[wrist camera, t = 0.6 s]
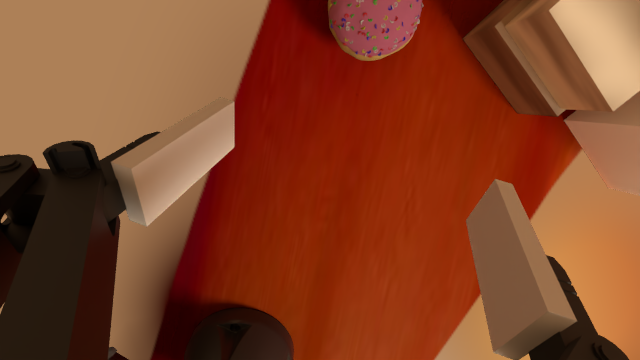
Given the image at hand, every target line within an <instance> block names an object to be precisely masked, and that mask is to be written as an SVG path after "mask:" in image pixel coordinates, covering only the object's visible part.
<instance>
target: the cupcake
mask: <svg viewBox="0 0 640 360" xmlns="http://www.w3.org/2000/svg"><path fill="white" fill-rule="evenodd" d="M422 7H423V4H422V0H328V15H329V27H330V30H331V32H332V34H333V36H334V37H335V39H336V41H337V42H338V44H339V46H340V47H341V49H342V50H343V51H345V52H346V53H348V54H350V55H352V56H353V57H355V58H357V59H359V60H365V61H372V60H377V59H381V58H384V57H386V56H388V55H390V54H392V53H395V52H397V51H399V50H400V49H402V48H403V47H404V46H405V45H406V44H407V43H408V42H409V41H410V40H411V38H412V36H413V34H414V32H415V30H416V29H417V24H418V23H419V22H420V20H419V17H420V14H421V9H422ZM418 21H419V22H418Z"/></svg>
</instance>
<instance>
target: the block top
mask: <svg viewBox="0 0 640 360" xmlns="http://www.w3.org/2000/svg"><path fill="white" fill-rule="evenodd" d="M505 28H506V30H507V31H508V33H509V34H510V35H511V37H512V38H513V40H514V41H515V43H516V44H517V46H518V47H519V49H520V50H521V51H522V53H523V54H524V56H525V57H526V59H527V60H528V62H529V63H530V65H531V66H532V67H533V69H534V70H535V72H536V73H537V75H538V76H539V78H540V79H541V81H542V82H543V84H544V85H545V86H546V88H547V89H548V91H549V92H550V94H551V95H552V97H553V98H554V100H555V101H556V102H557V104H558V105H559V107H560V108H561V109H569V110H589V111H609V112H613V111H615V110H616V109H617V108H618V107H620V106H621V105H622V104H624V103H625V102H626V101H627V100H629V99H630V98H631V97H632V96H634V95H635V94H636V93H637V92H639V91H640V0H533V1H532V2H531V3H530V4H528V5H527V6H526V7H525V8H524V9H523V10H522V11H521V12H520V13H519V14H518V15H516V16H515V17H514V18H513V19H512V20H511V21H510V22H509V23H508V24H507V25H506V26H505Z"/></svg>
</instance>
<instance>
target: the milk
mask: <svg viewBox="0 0 640 360" xmlns="http://www.w3.org/2000/svg"><path fill="white" fill-rule="evenodd" d="M564 121H565V123H566V124H567V126H568V127H569V129H570V130H571V132H572V133H573V135H574V137H575V138H576V140H577V141H578V143H579V144H580V146H581V147H582V149H583V150H584V152H585V153H586V155H587V156H588V158H589V159H590V161H591V163H592V164H593V166H594V167H595V169H596V170H597V172H598V173H599V175H600V176H601V178H602V179H603V181H604V182H605V184H606V186H607V187H608V188H612V189H615V190H619V191H623V192H627V193H631V194H636V195H639V196H640V91H639V92H637V93H636V94H635V95H634V96H632V97H631V98H630V99H629V100H627V101H626V102H625V103H624V104H622V105H621V106H620V107H618V108H617V109H616V110H615V111H613V112H609V111H589V110H576V111H575V112H574V113H572V114H571V115H570V116H568V117H567V118H566V119H565V120H564Z"/></svg>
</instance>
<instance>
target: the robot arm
mask: <svg viewBox="0 0 640 360" xmlns="http://www.w3.org/2000/svg"><path fill="white" fill-rule="evenodd" d="M233 148H234V101H231V100H228V99H225V98H221V97H220V98H219V99H217V100H215V101H213V102H212V103H210V104H209V105H207V106H205V107H203V108H202V109H200V110H198V111H197V112H195V113H193V114H191V115H190V116H188V117H186V118H185V119H183V120H181V121H180V122H178V123H176V124H174V125H173V126H171V127H169V128H168V129H166V130H164V131H163V132H154V133H151V134H147V135H144V136H143V137H141V138H139V139H137V140H135V142H132V143H130V144H128V145H127V146H126V147H123V148H121V149H119V150H118V151H116V152H114V153H112V154H111V155H109V156H107V157H105V158H104V159H102V160H100V161H99V159H98V156H97V153H96V151H95V148H94V146H93V145H92V144H91V143H89V142H84V141H66V142H61V143H58V144H54V145H52V146H51V147H49V148H47V149H46V150H45V151H44V152H43V155H44V157H45V159H46V161H47V163H48V165H49V167H50V169H41V168H37V167H36V165H35V163H34V161H33V159H32V158H31V157H29V156H27V155H20V154H17V155H4V156H0V308H1V307H2V305H3V304H4V302H5V304H4V306H3V309H2V311H1V314H0V360H128V359H127V358H125V357H123V356H122V355H120V354H118V353H117V352H116V351H117V350H116V349H115V348H114V347H109V340H110V328H111V317H112V307H113V295H114V284H115V273H116V272H115V271H116V262H117V251H118V240H119V229H120V219H119V216H118V215H119V214H121V213H122V212H123V211H124V210H126V211H127V214H128V217H129V220H131V221H133V222H136V223H139V224H142V225H144V226H148V225H149V224H150V223H151V222H152V221H154V220H155V219H156V218H157V217H158V216H159V215H160V214H161V213H162V212H164V211H165V210H166V209H167V208H168V207H169V206H170V205H171V204H172V203H173V202H174V201H176V200H177V199H178V198H179V197H180V196H181V195H182V194H183V193H184V192H185V191H187V190H188V189H189V188H190V187H191V186H192V185H193V184H194V183H195V182H197V181H198V180H199V179H200V178H201V177H202V176H203V175H204V174H205V173H206V172H208V171H209V170H210V169H211V168H212V167H213V166H214V165H215V164H216V163H217V162H219V161H220V160H221V159H222V158H223V157H224V156H225V155H226V154H227V153H228V152H230V151H231V150H232V149H233ZM4 214H6V215H7V219H6V220H5V221H4V222H3V223H1V219H2V217H3V215H4ZM466 224H467V228H468V233H469V238H470V243H471V247H472V252H473V257H474V262H475V267H476V271H477V276H478V281H479V286H480V291H481V295H482V300H483V305H484V310H485V315H486V319H487V324H488V329H489V334H490V339H491V343H492V348H493V352H494V353H496V354H499V355H502V356H505V357H507V358H510V359H513V360H519V359H521V358H522V357H524V356H525V355H527V354H528V353H529V356H530V359H531V360H629V359H628V357H627V356H626V355H625V354H624V353H623V352H622V351H621V350H620V349H619V348H618V347H617V346H616V345H615V344H613V343H612V342H610V341H609V340H607V339H606V338H604V337H602V336H600V335H598V333H597V332H596V330H595V328H594V326H593V324H592V322H591V320H590V318H589V316H588V314H587V312H586V310H585V309H584V306H583V304H582V302H581V301H580V299H579V297H578V296H577V293H576V291H575V289H574V287H573V286H572V285H571V281H570V279H569V277H568V275H567V274H566V272H565V270H564V269H563V268H562V267H561V265H560V264H559V263H558V262H557V261H556V260H555V259H554V258H553V257H550V256H547V255H546V254H545V252H544V250H543V248H542V246H541V244H540V242H539V240H538V238H537V235H536V233H535V231H534V229H533V227H532V225H531V223H530V221H529V219H528V216H527V214H526V212H525V210H524V208H523V206H522V204H521V202H520V200H519V198H518V195H517V193H516V191H515V189H514V187H513V185H512V184H510V183H507V182H503V181H500V180H497V179H495V180H494V181H493V183H492V184H491V186H490V187H489V188H488V190H487V191H486V193H485V194H484V196H483V197H482V198H481V200H480V201H479V203H478V204H477V205H476V207H475V208H474V210H473V211H472V213H471V214H470V215H469V217H468V218H467V220H466ZM293 354H294V348H293V342H292V339H291V337H290V335H289V333H288V331H287V330H286V329H285V327H284V326H283V325H282V324H281V323H280V322H279V321H277V320H276V319H275V318H273V317H271V316H270V315H268V314H265V313H263V312H260V311H257V310H253V309H247V308H232V309H226V310H222V311H219V312H216V313H214V314H212V315H210V316H208V317H207V318H205V319H204V320H203V321H202V322H201V323H200V324H199V325H198V326H197V327H196V329H195V331H194V332H193V334H192V336H191V338H190V340H189V342H188V344H187V347H186V350H185V354H184V360H293Z"/></svg>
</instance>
